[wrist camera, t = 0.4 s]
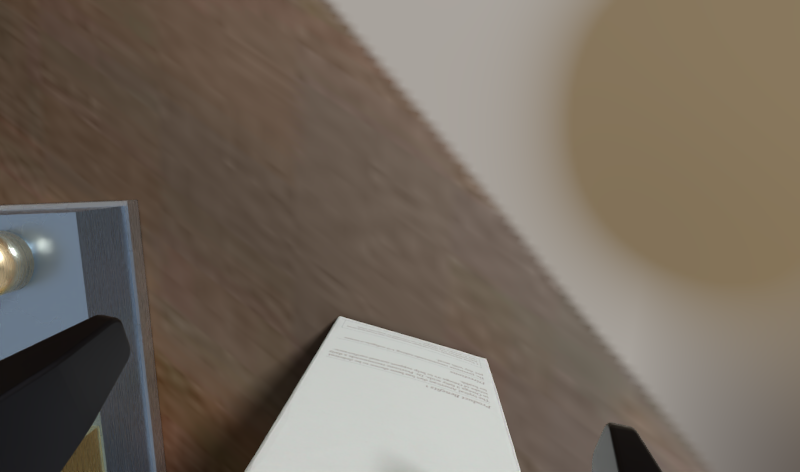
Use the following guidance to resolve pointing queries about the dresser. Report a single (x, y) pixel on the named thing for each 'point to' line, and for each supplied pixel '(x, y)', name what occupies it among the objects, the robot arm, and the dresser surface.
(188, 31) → the dresser surface
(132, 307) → the light blue box
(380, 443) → the supplement box
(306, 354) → the dresser surface
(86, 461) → the yellow knobbed box
